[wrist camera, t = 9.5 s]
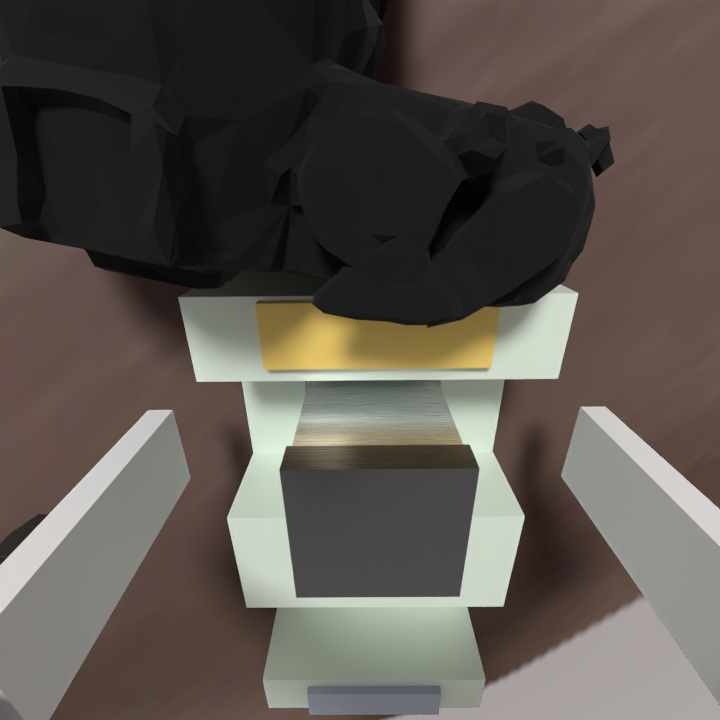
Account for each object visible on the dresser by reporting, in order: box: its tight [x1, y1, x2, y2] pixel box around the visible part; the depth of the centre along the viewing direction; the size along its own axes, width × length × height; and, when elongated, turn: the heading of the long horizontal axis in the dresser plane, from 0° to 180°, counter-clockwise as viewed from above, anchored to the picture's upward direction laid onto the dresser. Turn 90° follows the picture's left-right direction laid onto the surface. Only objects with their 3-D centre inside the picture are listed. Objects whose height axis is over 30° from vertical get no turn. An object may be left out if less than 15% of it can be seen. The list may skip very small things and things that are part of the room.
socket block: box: [178, 271, 578, 715], centre depth 15 cm, size 10×20×5 cm, turn 1°
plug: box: [279, 380, 480, 598], centre depth 12 cm, size 4×4×7 cm
